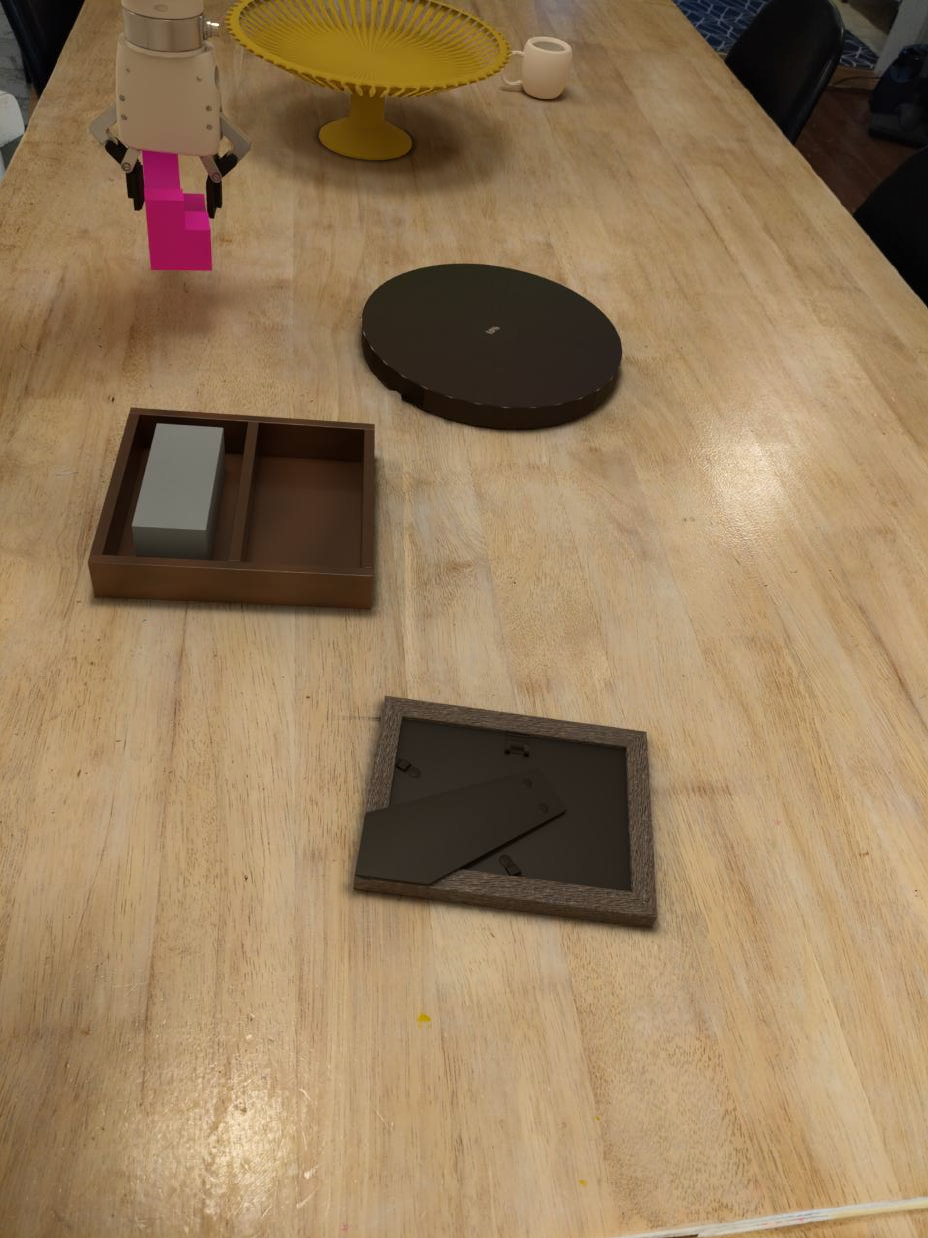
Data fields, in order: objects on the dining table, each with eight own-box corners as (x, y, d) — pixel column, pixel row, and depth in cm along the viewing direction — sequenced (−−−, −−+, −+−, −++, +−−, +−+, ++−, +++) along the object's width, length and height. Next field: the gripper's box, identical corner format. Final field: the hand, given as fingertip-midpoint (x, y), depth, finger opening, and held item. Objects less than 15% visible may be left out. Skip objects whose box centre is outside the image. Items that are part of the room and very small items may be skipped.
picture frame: (353, 888, 71) (651, 927, 72) (354, 874, 69) (658, 914, 70) (383, 707, 82) (641, 743, 83) (385, 692, 80) (647, 728, 81)
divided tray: (95, 601, 86) (87, 562, 82) (135, 445, 100) (130, 406, 97) (370, 613, 89) (373, 576, 85) (372, 460, 103) (374, 423, 100)
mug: (559, 85, 179) (568, 36, 174) (570, 105, 174) (579, 55, 168) (492, 80, 177) (499, 30, 171) (501, 100, 171) (508, 49, 166)
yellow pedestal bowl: (174, 111, 153) (165, -1, 142) (384, 71, 174) (390, -30, 163) (341, 227, 135) (345, 109, 124) (552, 166, 156) (572, 60, 145)
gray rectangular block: (138, 569, 88) (131, 525, 84) (161, 465, 98) (156, 422, 94) (209, 572, 89) (205, 529, 85) (226, 469, 98) (223, 427, 95)
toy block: (212, 270, 109) (209, 201, 103) (150, 269, 107) (144, 199, 102) (202, 205, 118) (199, 139, 113) (146, 203, 117) (140, 136, 111)
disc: (434, 259, 132) (436, 236, 130) (650, 337, 126) (657, 315, 123) (310, 366, 113) (310, 342, 110) (558, 466, 106) (564, 442, 104)
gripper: (260, 26, 101) (260, 202, 114) (77, 2, 99) (99, 184, 112) (253, 53, 96) (255, 233, 109) (61, 28, 94) (85, 216, 107)
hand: (176, 207), depth 110 cm, fingers closed on toy block, 7 cm apart
